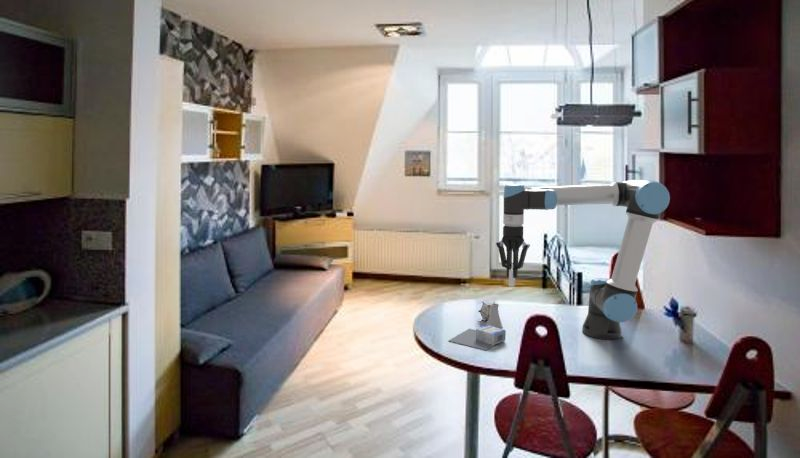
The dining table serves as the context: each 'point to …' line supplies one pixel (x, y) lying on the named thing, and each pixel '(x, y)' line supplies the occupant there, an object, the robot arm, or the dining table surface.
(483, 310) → the game die
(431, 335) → the dining table surface
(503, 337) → the medicine box
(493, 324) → the flask
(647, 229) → the robot arm
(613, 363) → the dining table surface
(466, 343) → the mat
